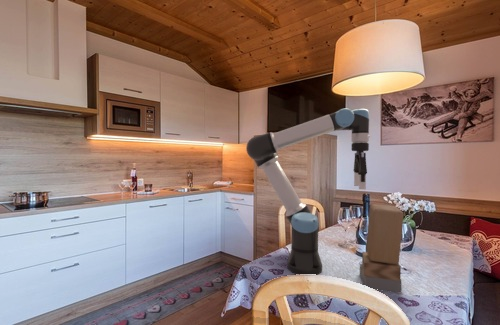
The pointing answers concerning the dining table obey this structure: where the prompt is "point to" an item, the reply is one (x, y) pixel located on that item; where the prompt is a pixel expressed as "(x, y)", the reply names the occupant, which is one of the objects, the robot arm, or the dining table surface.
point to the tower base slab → (380, 282)
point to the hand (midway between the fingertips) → (359, 187)
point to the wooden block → (384, 233)
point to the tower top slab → (380, 269)
